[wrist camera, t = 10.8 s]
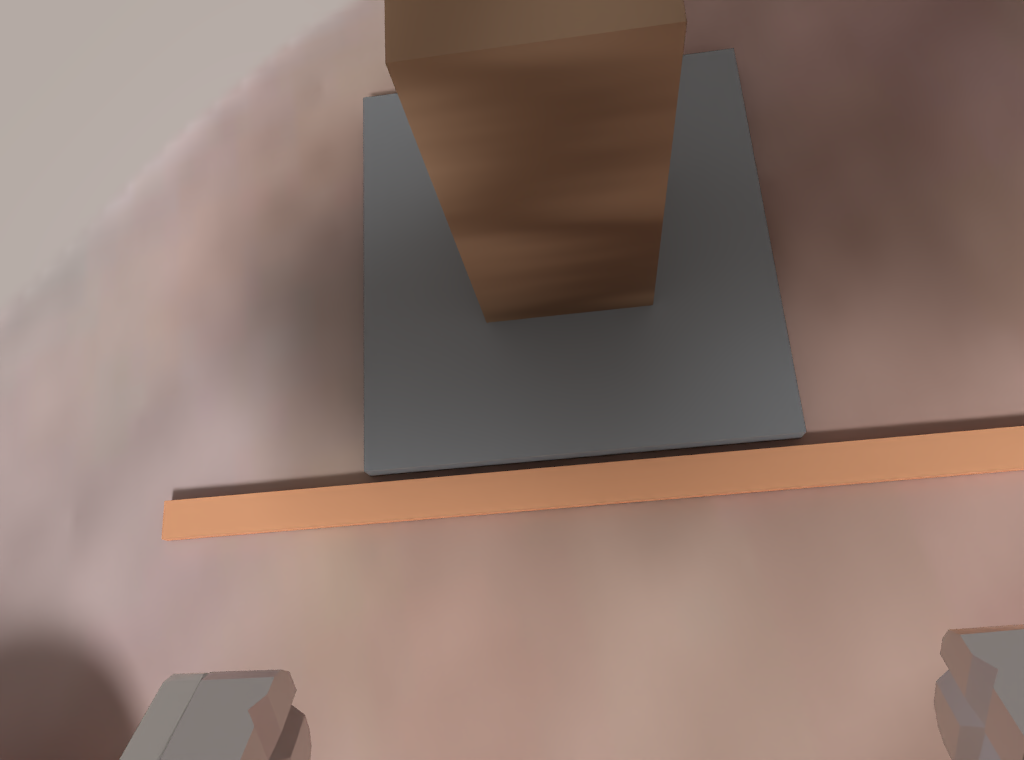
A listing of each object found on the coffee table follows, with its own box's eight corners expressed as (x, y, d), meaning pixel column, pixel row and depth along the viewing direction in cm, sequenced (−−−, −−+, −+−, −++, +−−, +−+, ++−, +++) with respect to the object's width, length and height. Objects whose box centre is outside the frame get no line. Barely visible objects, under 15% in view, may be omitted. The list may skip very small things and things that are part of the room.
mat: (730, 62, 23) (734, 48, 23) (800, 437, 20) (806, 432, 19) (369, 110, 25) (363, 97, 24) (370, 476, 21) (364, 471, 20)
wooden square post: (634, 161, 22) (649, -198, 13) (653, 304, 21) (686, 21, 11) (478, 180, 23) (382, -154, 13) (486, 322, 21) (385, 62, 12)
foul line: (1036, 427, 19) (1042, 424, 19) (1047, 467, 19) (1053, 465, 19) (170, 502, 21) (164, 500, 21) (167, 540, 21) (161, 538, 21)
